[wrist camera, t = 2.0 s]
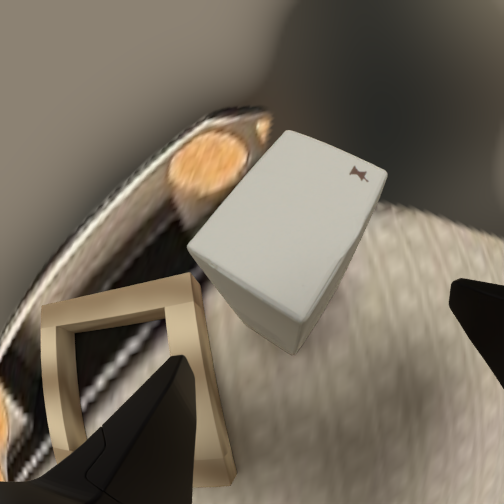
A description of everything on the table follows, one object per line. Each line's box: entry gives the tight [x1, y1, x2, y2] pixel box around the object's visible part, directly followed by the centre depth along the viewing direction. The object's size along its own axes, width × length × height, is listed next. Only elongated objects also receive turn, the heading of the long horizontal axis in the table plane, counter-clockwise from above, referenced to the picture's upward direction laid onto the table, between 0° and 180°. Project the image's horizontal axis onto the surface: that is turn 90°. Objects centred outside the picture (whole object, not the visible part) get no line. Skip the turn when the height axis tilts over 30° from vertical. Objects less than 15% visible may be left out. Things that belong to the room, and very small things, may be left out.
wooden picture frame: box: [41, 272, 237, 487], centre depth 16 cm, size 14×14×2 cm
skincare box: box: [187, 130, 387, 355], centre depth 14 cm, size 6×4×12 cm
